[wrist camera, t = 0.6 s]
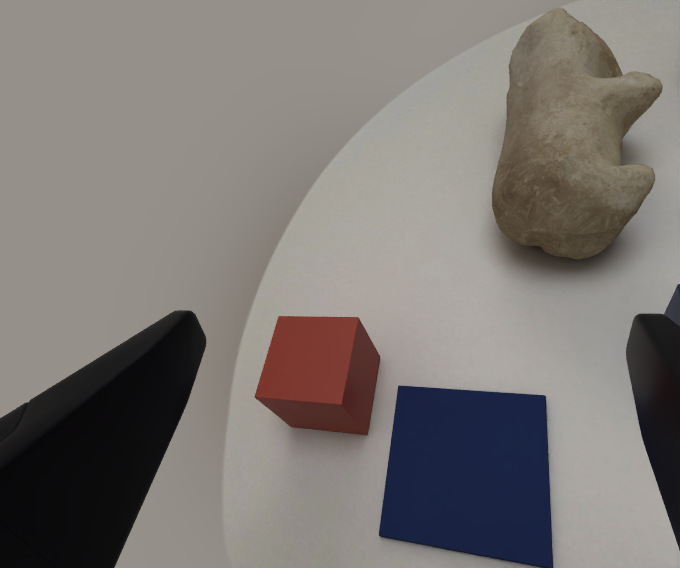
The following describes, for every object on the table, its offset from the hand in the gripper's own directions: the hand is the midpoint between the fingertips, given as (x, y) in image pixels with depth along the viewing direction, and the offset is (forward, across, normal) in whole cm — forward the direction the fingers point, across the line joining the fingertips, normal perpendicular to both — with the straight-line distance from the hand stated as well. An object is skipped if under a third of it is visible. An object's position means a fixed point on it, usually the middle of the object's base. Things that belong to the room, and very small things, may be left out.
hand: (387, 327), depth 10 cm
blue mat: (+7, -1, +16) cm, 18 cm away
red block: (+11, +7, +16) cm, 20 cm away
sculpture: (+26, -8, +10) cm, 29 cm away
